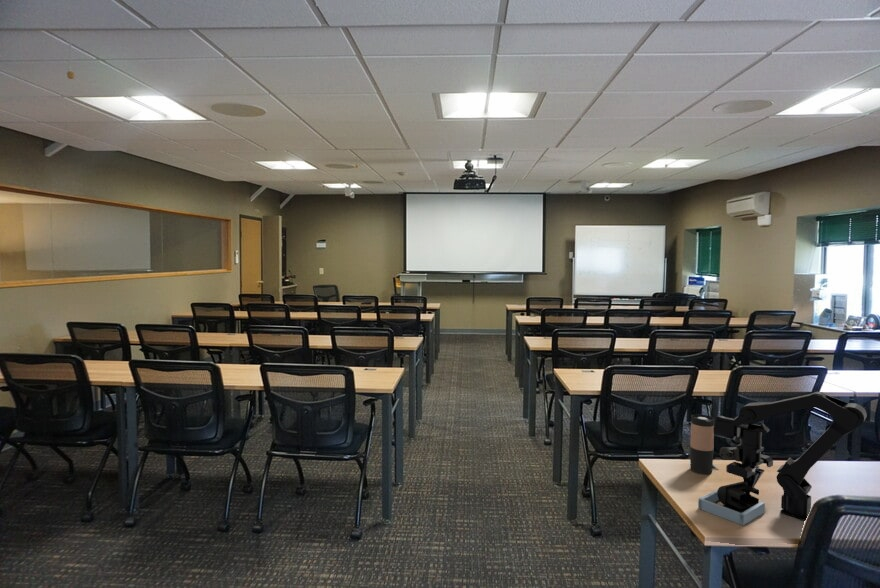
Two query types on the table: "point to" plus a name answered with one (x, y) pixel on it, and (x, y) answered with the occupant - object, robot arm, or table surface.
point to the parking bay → (741, 518)
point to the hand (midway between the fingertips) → (749, 490)
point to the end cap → (738, 496)
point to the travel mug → (701, 443)
